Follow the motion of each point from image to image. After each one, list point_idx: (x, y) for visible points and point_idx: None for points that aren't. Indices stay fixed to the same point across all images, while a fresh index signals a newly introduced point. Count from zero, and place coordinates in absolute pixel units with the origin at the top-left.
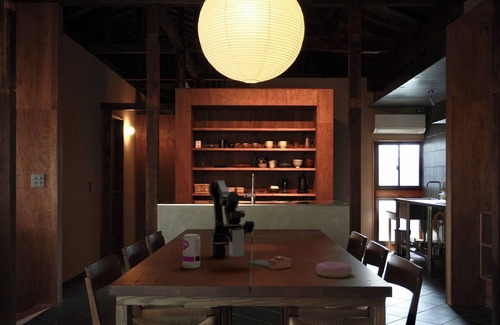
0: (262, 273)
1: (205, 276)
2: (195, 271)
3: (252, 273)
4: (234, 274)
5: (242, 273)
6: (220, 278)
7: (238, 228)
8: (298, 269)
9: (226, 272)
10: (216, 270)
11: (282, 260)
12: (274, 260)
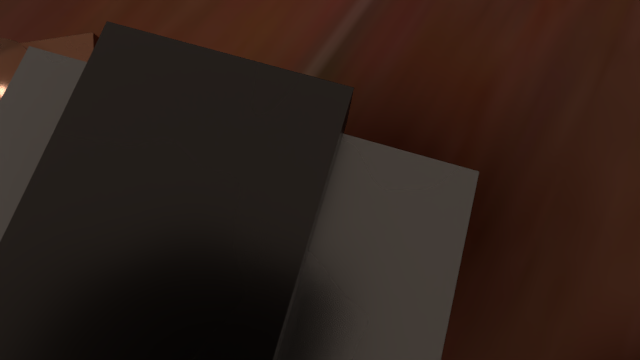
0: (269, 22)
1: (603, 120)
2: (610, 306)
3: (317, 50)
4: (423, 80)
5: (366, 80)
6: (545, 30)
7: (224, 59)
8: (23, 8)
9: (436, 158)
10: (463, 255)
11: (26, 46)
12: (89, 49)
